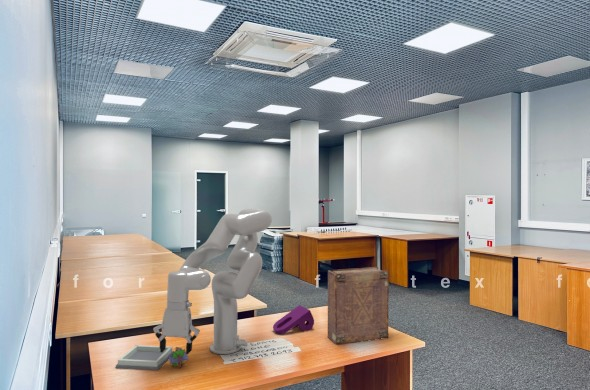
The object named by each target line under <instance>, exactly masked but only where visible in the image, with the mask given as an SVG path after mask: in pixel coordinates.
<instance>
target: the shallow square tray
mask: <svg viewBox="0 0 590 390" xmlns="http://www.w3.org/2000/svg"><path fill="white" fill-rule="evenodd" d="M174 351H175V350H173V346H166V349H165V350H164V351H163V352H160V345H159V346H157V345H155V346H154V345H143V344H142V345H140V344H139V345H136V344H135V346H133V347H132V348H130V350H128V351H127V352H126V353H124V355H122V356H121V357H119V358H118V359H117V364H116V365H115V369H123V370H142V371H145V370H146V371H159V370H160V369H161V368H162V367H163V366H164V364H166V362H168V360H169V358H168V356H169V355H173V353H172V352H174Z"/></svg>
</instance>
